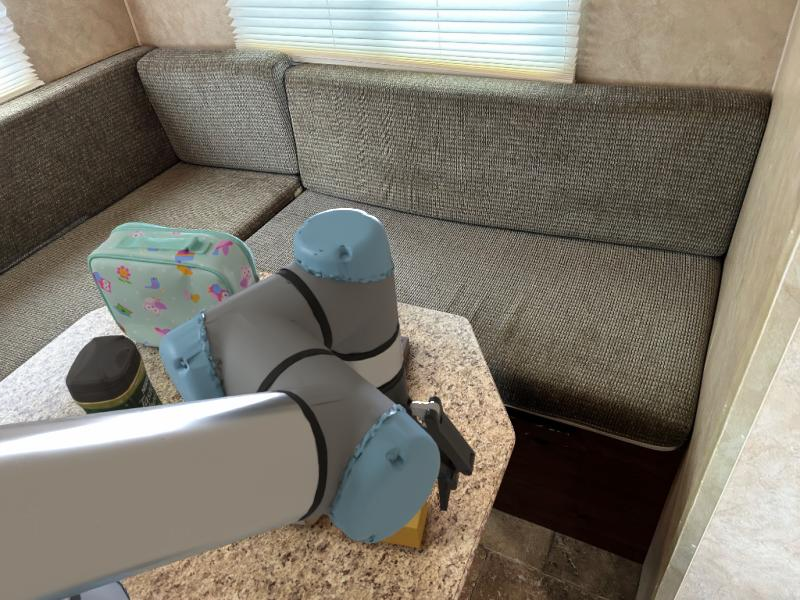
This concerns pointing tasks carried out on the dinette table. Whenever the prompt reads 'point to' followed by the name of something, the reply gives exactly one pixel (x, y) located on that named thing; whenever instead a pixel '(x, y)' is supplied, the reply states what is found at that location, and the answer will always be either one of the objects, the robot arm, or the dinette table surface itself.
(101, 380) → the coffee jar
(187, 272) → the lunch box
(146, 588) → the dinette table surface
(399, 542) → the pad loose
